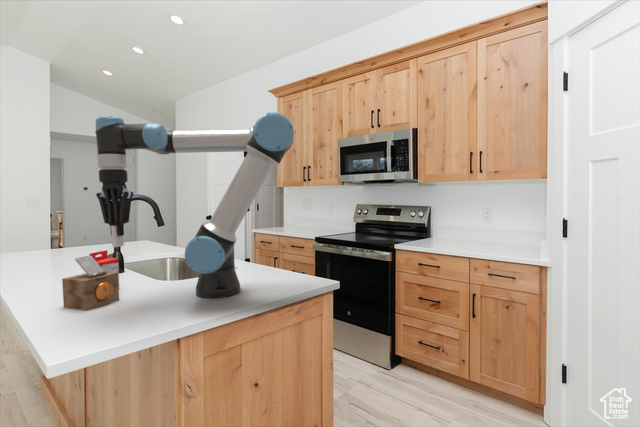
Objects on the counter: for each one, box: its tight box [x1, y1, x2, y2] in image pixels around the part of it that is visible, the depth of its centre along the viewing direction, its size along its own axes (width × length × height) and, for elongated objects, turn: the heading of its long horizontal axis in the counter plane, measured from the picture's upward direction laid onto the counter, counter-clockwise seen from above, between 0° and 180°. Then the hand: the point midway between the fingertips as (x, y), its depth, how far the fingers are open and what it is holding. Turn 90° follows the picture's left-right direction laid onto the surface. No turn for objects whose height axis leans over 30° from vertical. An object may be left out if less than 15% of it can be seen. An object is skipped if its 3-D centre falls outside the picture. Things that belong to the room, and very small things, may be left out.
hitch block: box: [61, 272, 120, 311], centre depth 116 cm, size 10×11×9 cm
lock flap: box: [74, 255, 107, 278], centre depth 116 cm, size 8×6×1 cm
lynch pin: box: [94, 282, 113, 300], centre depth 116 cm, size 11×6×6 cm, turn 69°
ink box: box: [88, 250, 120, 286], centre depth 129 cm, size 8×5×15 cm, turn 168°
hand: (118, 246), depth 111 cm, fingers closed
